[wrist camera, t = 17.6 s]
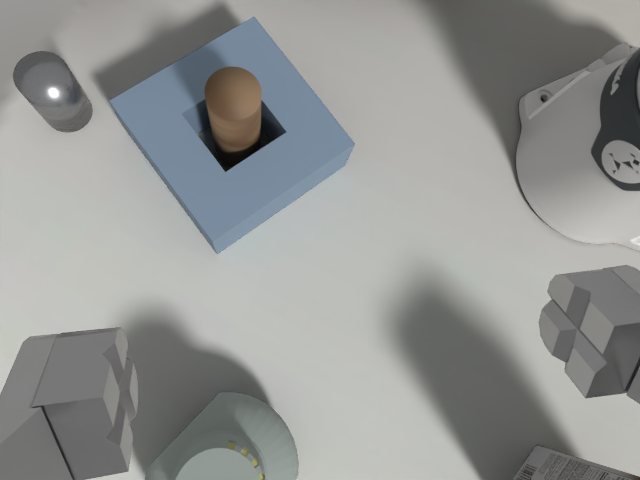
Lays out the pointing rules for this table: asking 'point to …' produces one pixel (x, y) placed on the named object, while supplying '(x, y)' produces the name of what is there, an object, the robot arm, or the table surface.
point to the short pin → (53, 91)
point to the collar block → (192, 117)
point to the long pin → (234, 113)
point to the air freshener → (230, 444)
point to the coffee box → (565, 468)
